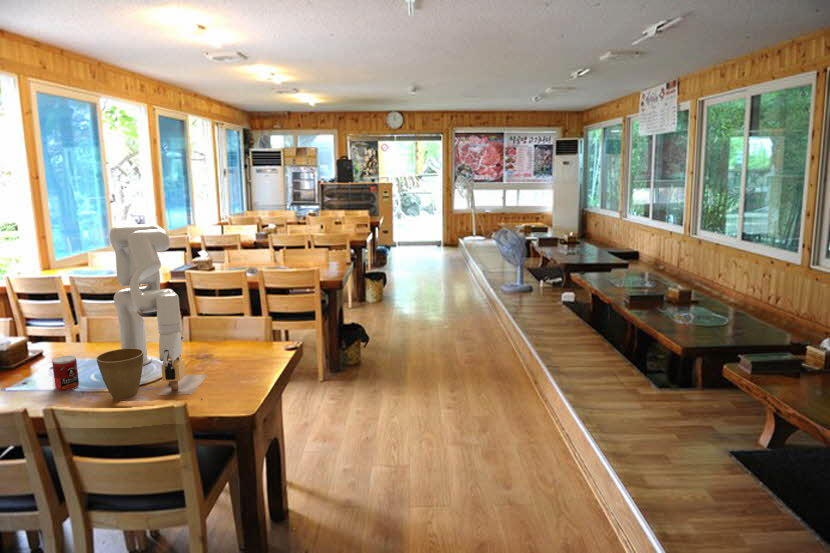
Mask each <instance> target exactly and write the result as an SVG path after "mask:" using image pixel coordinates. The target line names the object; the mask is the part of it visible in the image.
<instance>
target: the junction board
mask: <svg viewBox="0 0 830 553" xmlns="http://www.w3.org/2000/svg"><path fill="white" fill-rule="evenodd" d="M207 377H208V374H185V376H184V377H183V378H182V379H181V380H180V381H168V383H167V384H165V385H166V386H164V387H163V388H162V389H161V390H160V392H158V394H157V396H179V395H180V396H182V395H184V396H185V395H193V393H194V392H195V391H196V390H197V389H198V387H199V386H200V385H201V384H202V382H204V381H205V379H206V378H207Z"/></svg>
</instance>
